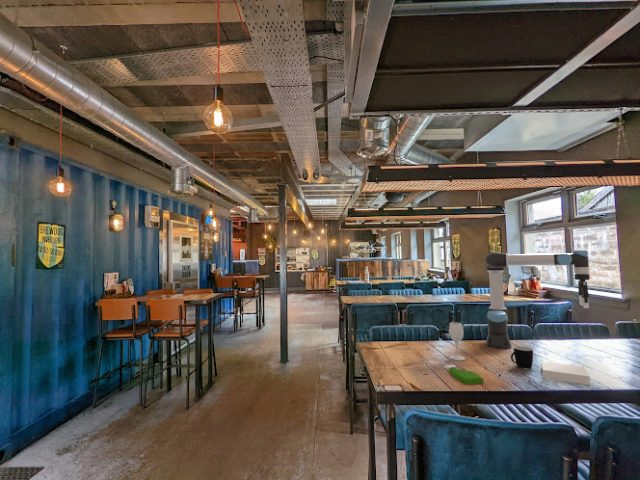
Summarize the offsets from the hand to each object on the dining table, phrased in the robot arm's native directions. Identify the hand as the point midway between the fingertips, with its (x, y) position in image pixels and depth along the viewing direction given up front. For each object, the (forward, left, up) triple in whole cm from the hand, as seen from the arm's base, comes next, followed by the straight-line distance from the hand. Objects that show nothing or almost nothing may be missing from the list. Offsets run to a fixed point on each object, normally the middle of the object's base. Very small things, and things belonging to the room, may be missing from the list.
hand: (584, 306), depth 203 cm
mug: (-36, -55, -28) cm, 72 cm away
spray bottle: (-63, -84, -29) cm, 109 cm away
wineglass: (-69, -55, -28) cm, 93 cm away
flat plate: (-18, -61, -28) cm, 70 cm away
